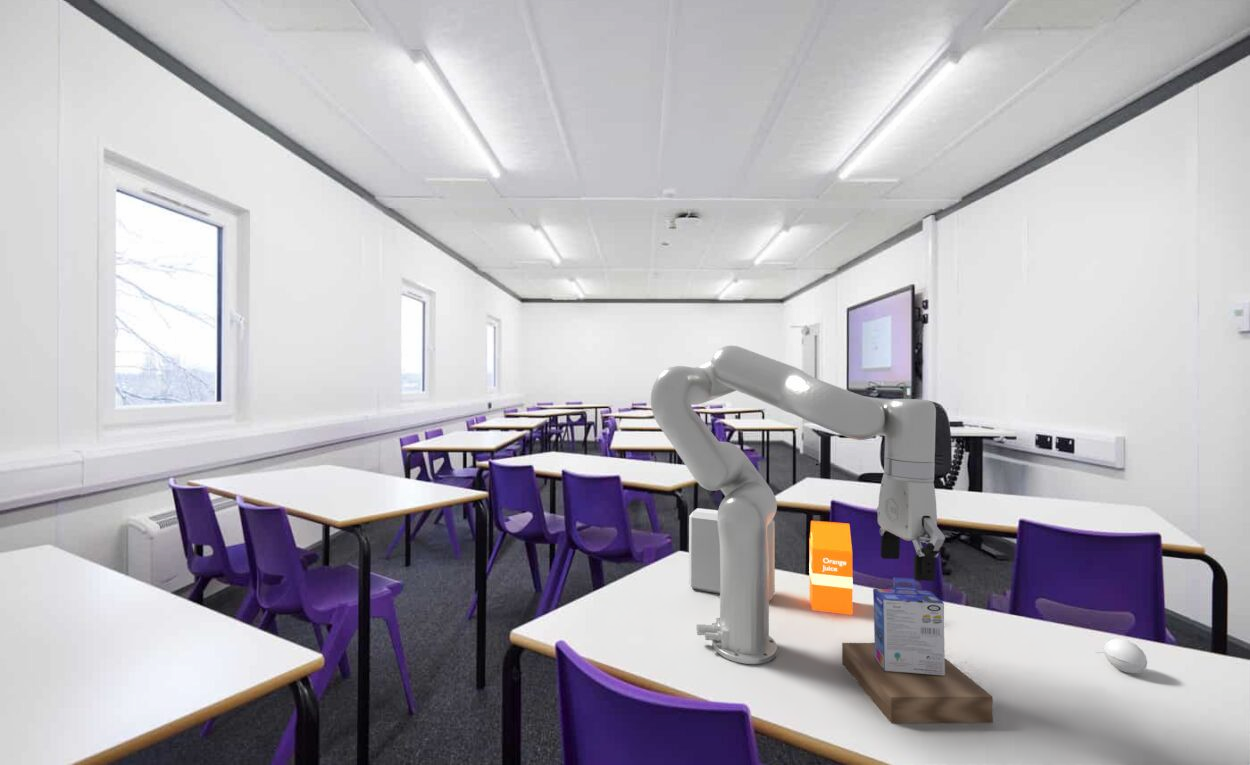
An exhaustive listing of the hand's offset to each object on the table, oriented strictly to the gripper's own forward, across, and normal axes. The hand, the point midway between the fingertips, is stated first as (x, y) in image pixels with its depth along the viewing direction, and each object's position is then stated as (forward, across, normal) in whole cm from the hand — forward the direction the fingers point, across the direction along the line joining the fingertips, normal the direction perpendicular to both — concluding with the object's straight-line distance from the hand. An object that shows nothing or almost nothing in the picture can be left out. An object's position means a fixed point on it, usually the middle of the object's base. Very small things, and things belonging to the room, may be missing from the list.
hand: (906, 568), depth 83 cm
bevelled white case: (+22, -40, -20) cm, 50 cm away
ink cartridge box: (+17, 0, +1) cm, 17 cm away
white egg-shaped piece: (+20, -6, +44) cm, 49 cm away
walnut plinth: (+21, 0, +1) cm, 21 cm away
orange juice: (+21, -32, +2) cm, 39 cm away
